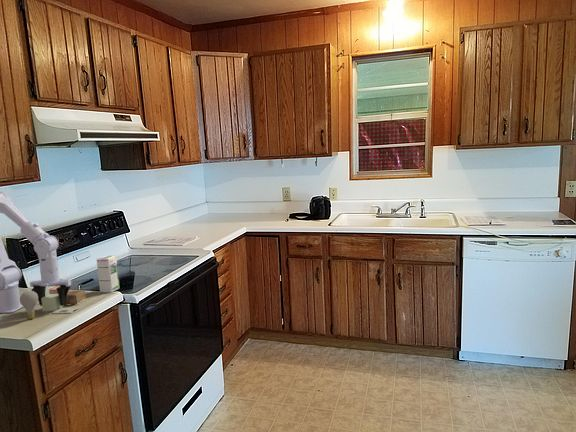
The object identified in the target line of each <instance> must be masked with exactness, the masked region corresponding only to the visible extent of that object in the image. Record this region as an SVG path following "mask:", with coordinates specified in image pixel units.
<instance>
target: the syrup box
mask: <svg viewBox="0 0 576 432" xmlns="http://www.w3.org/2000/svg"><path fill="white" fill-rule="evenodd" d="M117 257H118V256H117V255H104V256H101V257H99V258H96V267H97V275H98V276H97V277H98V284H99V292H100V293H113V292H115V291H117V290H119V289H120V277H119V268H118V259H117Z"/></svg>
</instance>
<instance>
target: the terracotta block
mask: <svg viewBox="0 0 576 432" xmlns="http://www.w3.org/2000/svg"><path fill="white" fill-rule="evenodd" d="M58 287H60V286H52V288H51V287H50V289H48V291H49V294H58V292H57V290H56V288H58ZM69 291H70V290H69ZM69 291H68V292H69Z"/></svg>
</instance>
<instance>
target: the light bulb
mask: <svg viewBox="0 0 576 432" xmlns="http://www.w3.org/2000/svg"><path fill="white" fill-rule="evenodd" d="M19 296H20V304H22V305H23V307H22V308H24V309H25V310H26V314H27V319H30V320H32V319H34V318H35V316H36V315H35V308H36V305H37V303H38V302H39V301H38V295H37V293H35V292H34V291H32V290H26V291H24V292H23V293H22V294H20V295H19Z"/></svg>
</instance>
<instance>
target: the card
mask: <svg viewBox="0 0 576 432" xmlns="http://www.w3.org/2000/svg"><path fill="white" fill-rule="evenodd" d="M73 308H74V307H62V308H60V309H58V310H56V311H52V312H51V313H52V315H55V314H56V315H59V314H60V313H61V314H63V313H70V314H72V312H73V311H74V310H73ZM74 312H75V311H74ZM74 312H73V313H74ZM61 314H60V315H61ZM63 315H64V314H63Z"/></svg>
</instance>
